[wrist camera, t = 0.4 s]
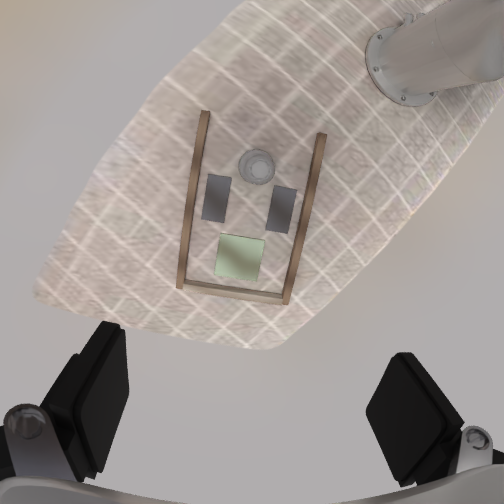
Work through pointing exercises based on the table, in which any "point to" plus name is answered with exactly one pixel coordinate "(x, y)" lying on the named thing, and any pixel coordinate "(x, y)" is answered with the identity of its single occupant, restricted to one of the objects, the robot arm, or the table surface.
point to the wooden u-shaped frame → (242, 248)
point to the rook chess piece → (256, 167)
